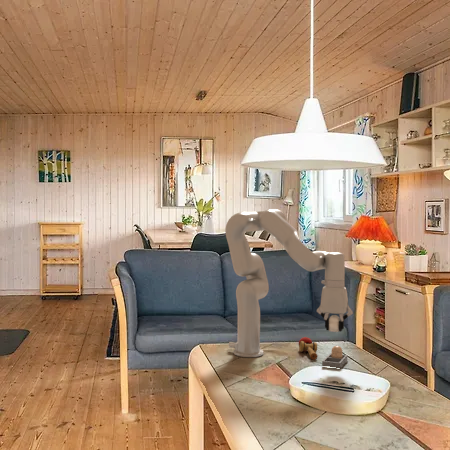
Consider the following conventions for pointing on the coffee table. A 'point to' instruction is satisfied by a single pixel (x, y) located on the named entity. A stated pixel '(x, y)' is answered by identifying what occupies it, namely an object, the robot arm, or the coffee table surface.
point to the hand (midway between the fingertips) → (334, 329)
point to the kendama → (308, 347)
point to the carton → (335, 358)
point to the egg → (334, 323)
